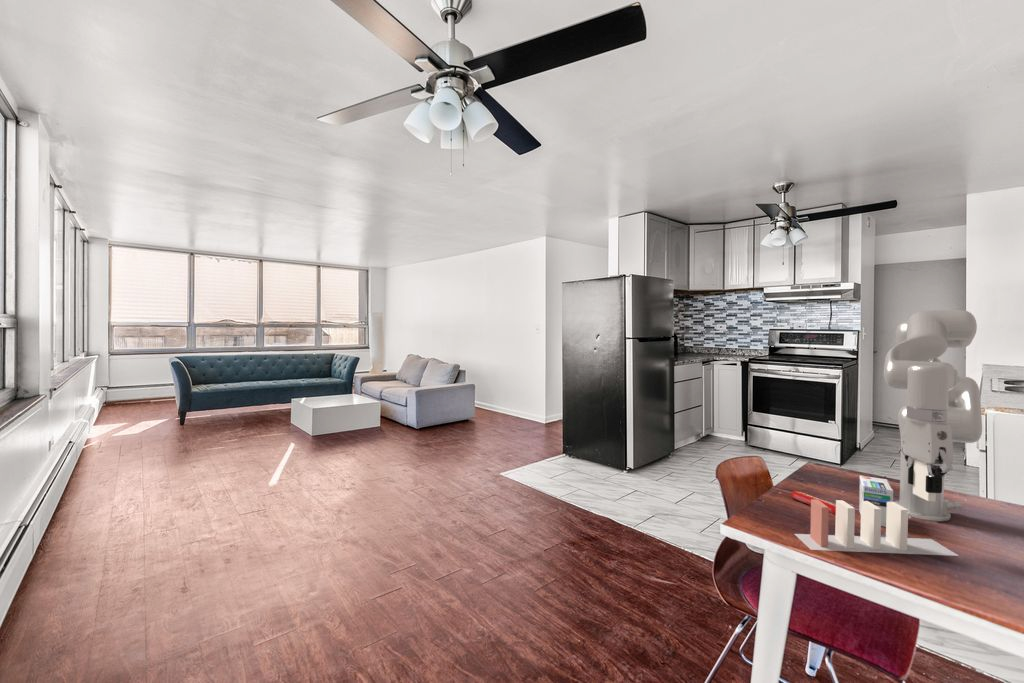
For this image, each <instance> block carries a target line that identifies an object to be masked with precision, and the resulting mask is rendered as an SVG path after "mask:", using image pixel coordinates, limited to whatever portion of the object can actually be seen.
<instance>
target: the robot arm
mask: <svg viewBox="0 0 1024 683" xmlns="http://www.w3.org/2000/svg"><path fill="white" fill-rule="evenodd" d="M977 327H978V325H977V320H976V318H975V316H974V314H972V313H971V312H970V311H968V310H964V309H963V310H962V309H945V310H944V309H943V310H942V309H941V310H940V309H938V310H937V309H936V310H922V311H917V312H915V313H913V314H911V315H910V316H909V318H908V320H905V321H903V322H900V324H898V325H897V327H896V330H895V338H896V340H895V341H896V345H893V347H891V348H890V349H889V350H888V351H887V353H886V355H885V359H884V364H883V365H884V367H883V380H884V383H885V384H886V385H887V386H888V387H890V388H893V389H899V390H900V389H901V390H905V391H904V392H905V397H906V405H904V406H902V407H900V409H899V410H898V413H897V422H898V427H899V435H900V469H899V471H900V474H899V476H900V478H899V500H895V501H894V502H895V503H897V504H898V505H900V506H902V507H904V508H906V509H907V510H908V517H909V516H910V517H912V518H916V519H920V520H925V521H926V520H927V521H932V522H947V521H949V520H950V519H951V513H950V512H949V511H950V510H951V509H952V510H962V509H963V505H962V503H961V502H959V501H950V500H949V499H944V497H945V496H944V495H945V493H944V492H945V475H946V474H947V473H948V472H950V471H952V470H953V469H954V468H953V462H954V445H953V443H955V442H956V443H965V444H973V443H977V442H978V441H979V440H980V439H981V438H982V434H983V420H982V419H983V418H982V407H981V404H982V403H981V393H980V388H979V385H978V383H977V382H976V380H975V379H974V378H971V377H969V376H964V375H959V373H958V372H959V371H958V370H957V368H955V367H954V366H953V365H952V364H951V363H949V362H944V361H941V360H940V359H939V358H940V357H941V356H942V355H944V354H945V353H946V351H947V350H948V348H954V349H955V348H956V349H957V348H958V349H960V348H961V349H962V348H967V347H969V346H970V345H971V344H972V342H973V340H974V338H975V336H976V334H977ZM914 459H917V460H919V461H922V462H925V463H926V465H927V470H928V475H929V476H926V489H925V490H926V492H928V493H936V501H927V500H925V499H923V498H921V497H919V496H917V495H915V494H913V476H914V469H913V468H914ZM935 461H937V463H935ZM933 466H937V468H936V469H935V470H933Z"/></svg>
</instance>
